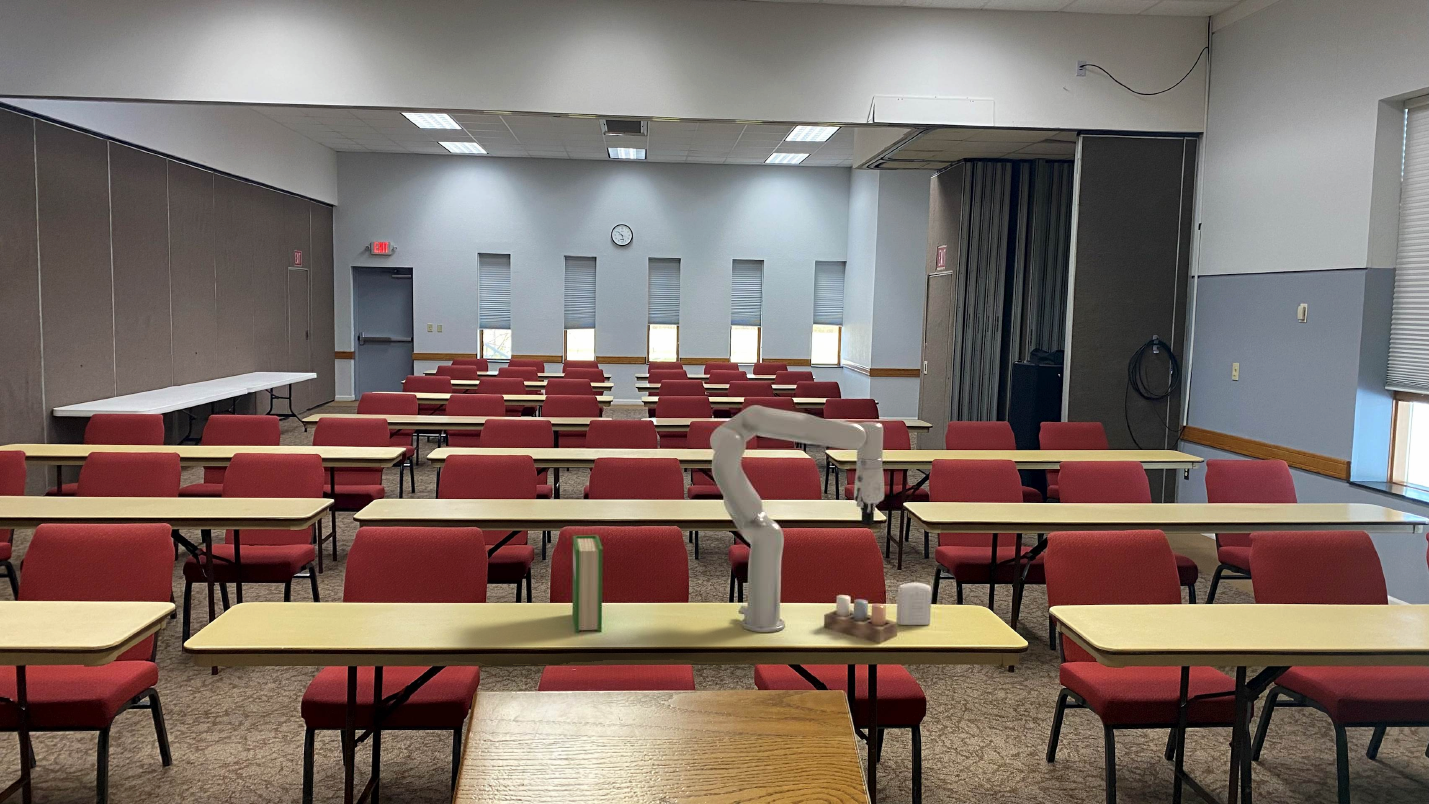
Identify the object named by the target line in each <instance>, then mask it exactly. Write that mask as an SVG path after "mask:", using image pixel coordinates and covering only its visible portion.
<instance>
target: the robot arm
mask: <svg viewBox="0 0 1429 804" xmlns="http://www.w3.org/2000/svg"><path fill="white" fill-rule="evenodd" d="M755 436H759V437H762V438H771V439H777V440H784V441H791V442H796V443H801V444H802V443H803V444H809V445H819V446H824V447H831V448H836V449H844V450H850V451H855V450H856V466H855V467H856V472H855V476H854V477H855V478H854V487H853V488H854V489H853V490H854V492H853V498H854V499H853V500H854V501H855V502H856V507H857V508H860V512H861V525H862V526H867V527H871V526H874V522H875V521H874V520H875V519H874V517H875V511H876V506H877V505H878V504H879V503H880V502H882V501H884V499H885V476H884V469H883V450H884V448H883V447H884V426H883V424H882V423H879V422H875V421H863V422H853V421H852V422H851V421H846V420H843V421H842V420H841V421H840V420H839V421H836V420H831V419H826V418H821V417H819V416H815V415H812V414H808V413H804V412H798V411H791V410H784V409H778V408H772V407H765V406H762V405H759V404H758V405H757V404H754V405H750V406H747V407H746V408H745V409H743V410H741V411H740V412H738V413H737V414H736V415H734V416H733V417H732V418H730V419H728V420H727V421H725V422H724V423H722V424H721V425H719V426H718V427H716V428H715V429H714V431H713V432H712V434H711V435H710V439H709V444H710V447H711V449H712V451H713V452H714V453H713V456H712V461H711V474H712V477H713V479H714V481H715V484H716V485H717V487H718V489H719V491H720V492H721V495H722V496H723V505H724V508H725V510H726V511H727V513H728V516H730V518H731V520H732V521H733V523H734V525H735V526H736V528H737V530H738V531H739V533H740V534H741V535H742V537H743V538H744V540H745V541H746V542H747V543H749V544H750V549H749V550H750V551H749V555H748V564H747V565H748V567H747V569H748V570H747V604H746V605H741V606H740V608H739V609H738V611H737V612H738V614H741V615H743V616H744V618H743V619H742V620H741V626H742V627H743V628H744V629H746V630H748V631H751V632H756V633H757V632H758V633H772V632H773V633H775V632H780V631H782V630H783V629H784V628H785V627H786V626H785V625H786V622H785V621H784V620H783V619H782V618H781V617H780V616H781V588H782V587H781V583H782V582H781V581H782V574H781V573H782V572H781V571H782V557H783V550H784V543H785V538H784V532H783V530H782V528H781V527H780V525H779V524H778V522H776V521H775V520H773V519H771V518H770V517H768V515H767V514H766V512H765V510H764V508H763V502H762V499H761V497H760V495H759V493H758V492H757V491H756V489H755V488H754V487H753V485H752V483H751V482H750V480H749V479H748V477H747V475H746V474H745V472H744V470H743V467H742V458H743V456H744V455H745V452H746V448H747V442H748V441H750V440H751V439H752V438H753V437H755Z"/></svg>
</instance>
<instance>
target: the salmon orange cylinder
mask: <svg viewBox="0 0 1429 804" xmlns="http://www.w3.org/2000/svg"><path fill="white" fill-rule="evenodd" d="M870 615H871V624H872V625H875V626H879V627H883V626H885V625H886V620H887V619H886V617H887V605H886V604H883V603H872V604H871V614H870Z"/></svg>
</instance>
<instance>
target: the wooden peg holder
mask: <svg viewBox="0 0 1429 804" xmlns="http://www.w3.org/2000/svg"><path fill="white" fill-rule="evenodd" d="M871 615H872V614H868V619H867V621H865V622H860V621H857V620H853V617H854V610H851V609H850V616H848V617H842V616H838V615H836V609H835V610H833V611H830V612H827V613H825V614H824V616H823V628H824V629H827V630H830V631H833V632H838V633H842V634H843V635H848V636H852V637H855V636H856V637H855V638H859V639H862V640H865V641H866V640H867V641H870V642H873V643H876V642H877V643H876V644H883V643H885V642H887V641H889V640H891V639H894V638H896V637H898V624H897V622H896V621H893V620H889V619H886V625H885V626H883V627H879V626H875V625H872V624H871Z"/></svg>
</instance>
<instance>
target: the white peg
mask: <svg viewBox="0 0 1429 804" xmlns="http://www.w3.org/2000/svg"><path fill="white" fill-rule="evenodd" d="M835 610H836V615H838V616H842V617H848V616H850V610H851V596H849V595H847V594H846V595H844V594H839V595H836V609H835Z"/></svg>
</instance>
